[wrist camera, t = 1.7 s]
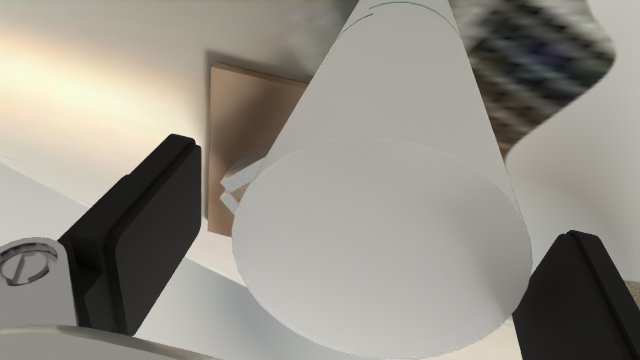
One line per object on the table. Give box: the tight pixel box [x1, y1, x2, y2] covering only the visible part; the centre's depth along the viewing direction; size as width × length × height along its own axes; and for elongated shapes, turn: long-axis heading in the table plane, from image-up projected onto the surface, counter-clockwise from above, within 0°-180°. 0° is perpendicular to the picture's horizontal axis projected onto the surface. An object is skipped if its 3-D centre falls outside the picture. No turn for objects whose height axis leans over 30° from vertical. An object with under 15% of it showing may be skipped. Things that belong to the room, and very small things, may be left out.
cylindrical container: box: [232, 0, 532, 360], centre depth 21 cm, size 7×7×25 cm
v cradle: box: [208, 62, 309, 237], centre depth 37 cm, size 20×18×5 cm
